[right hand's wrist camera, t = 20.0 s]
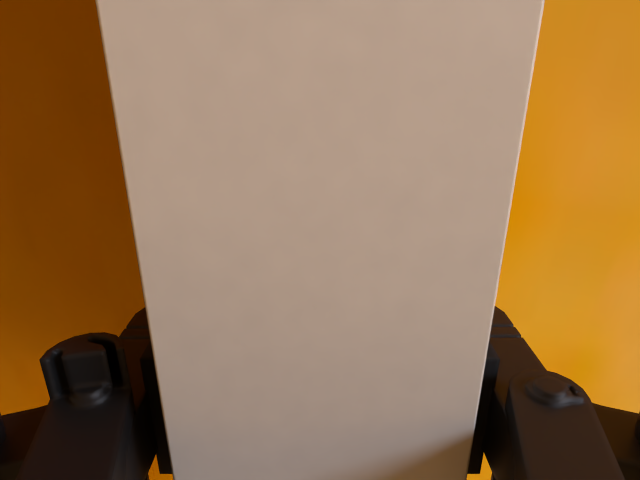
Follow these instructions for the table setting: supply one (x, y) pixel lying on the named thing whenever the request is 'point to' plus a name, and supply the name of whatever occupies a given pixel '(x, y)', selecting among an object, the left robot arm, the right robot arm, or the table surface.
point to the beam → (319, 223)
